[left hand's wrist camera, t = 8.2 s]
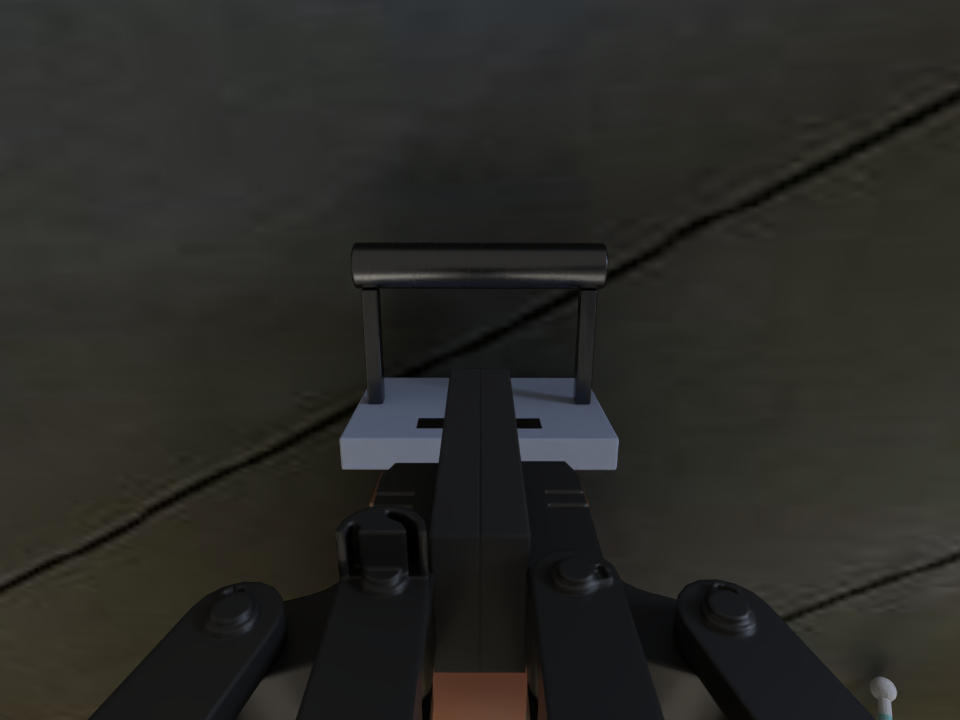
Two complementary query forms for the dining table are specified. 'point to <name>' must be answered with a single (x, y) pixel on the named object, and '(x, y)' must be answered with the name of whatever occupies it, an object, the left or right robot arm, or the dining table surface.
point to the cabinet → (479, 696)
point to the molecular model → (883, 696)
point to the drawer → (422, 401)
